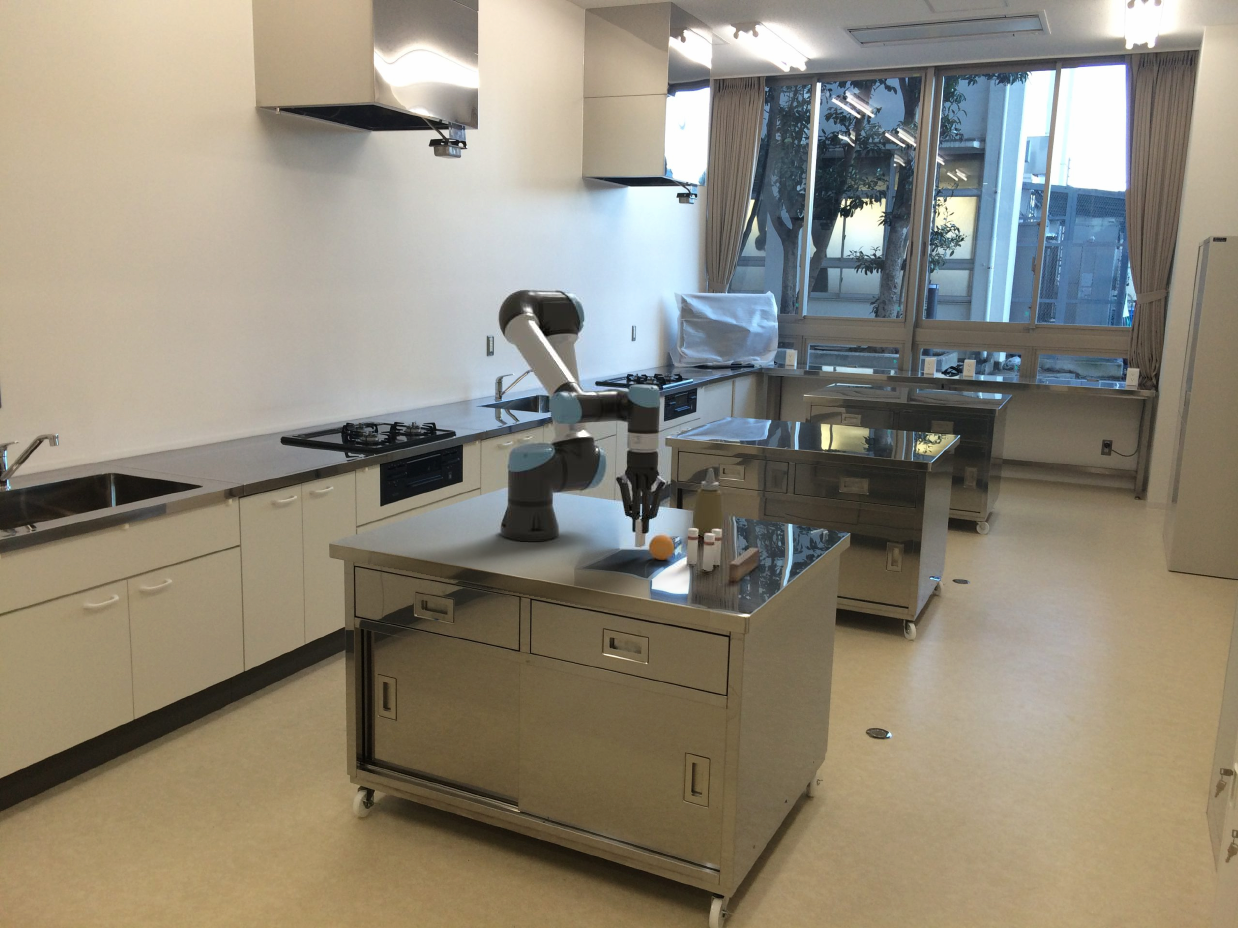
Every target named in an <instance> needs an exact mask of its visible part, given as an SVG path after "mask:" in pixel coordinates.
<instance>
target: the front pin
mask: <svg viewBox="0 0 1238 928" xmlns="http://www.w3.org/2000/svg"><path fill="white" fill-rule="evenodd" d="M698 541H699V536H698V529H696V528H695V527H692V528H691V527H689V528H688V529H687V544H686V545H687V546H686V547H687V548H686V563H687V564H696V563H698V546H699V545H698V544H699V543H698ZM687 564H686V565H687ZM696 565H697V564H696Z"/></svg>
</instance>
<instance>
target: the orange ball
mask: <svg viewBox="0 0 1238 928" xmlns="http://www.w3.org/2000/svg"><path fill="white" fill-rule="evenodd" d="M674 544H675V543H674V542H673V540H672V539H671V537H669V536H667V535H665V534H658V535H655V536H654V537H652V538H651V540H650V542H649V545H648V551H649V553H650V554H651V556H652V557H653V558H654V559H656V560H660V561H664V560H667V559H669V558H670V557H671V556H672V555H673V553H674V550H675V545H674Z"/></svg>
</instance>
